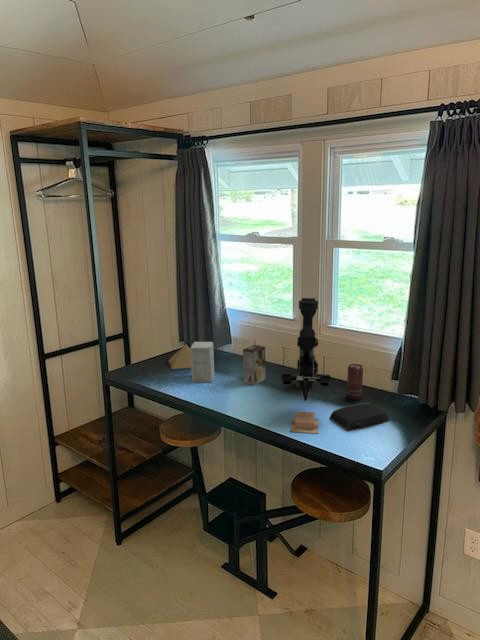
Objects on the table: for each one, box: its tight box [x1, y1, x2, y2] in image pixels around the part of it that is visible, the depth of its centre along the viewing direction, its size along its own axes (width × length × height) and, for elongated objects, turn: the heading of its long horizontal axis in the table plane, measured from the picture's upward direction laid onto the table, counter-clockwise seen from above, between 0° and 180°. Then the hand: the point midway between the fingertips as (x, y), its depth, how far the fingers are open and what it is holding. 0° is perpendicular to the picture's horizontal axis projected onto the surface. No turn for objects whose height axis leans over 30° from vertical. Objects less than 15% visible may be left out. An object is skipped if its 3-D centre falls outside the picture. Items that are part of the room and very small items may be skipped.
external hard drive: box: [329, 402, 390, 432], centre depth 188 cm, size 13×19×4 cm
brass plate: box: [290, 417, 319, 434], centre depth 184 cm, size 11×10×1 cm
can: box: [346, 363, 364, 401], centre depth 206 cm, size 6×6×14 cm
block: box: [295, 411, 316, 429], centre depth 185 cm, size 2×7×9 cm
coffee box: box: [242, 344, 266, 386], centre depth 225 cm, size 9×6×16 cm
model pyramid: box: [168, 344, 191, 370], centre depth 252 cm, size 17×17×10 cm
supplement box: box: [189, 341, 215, 383], centre depth 229 cm, size 10×9×17 cm
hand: (305, 400), depth 186 cm, fingers closed
